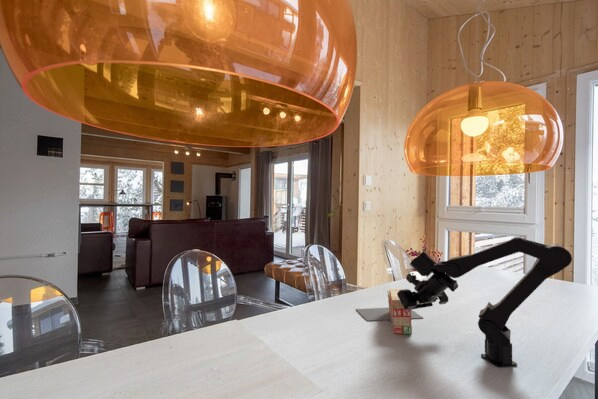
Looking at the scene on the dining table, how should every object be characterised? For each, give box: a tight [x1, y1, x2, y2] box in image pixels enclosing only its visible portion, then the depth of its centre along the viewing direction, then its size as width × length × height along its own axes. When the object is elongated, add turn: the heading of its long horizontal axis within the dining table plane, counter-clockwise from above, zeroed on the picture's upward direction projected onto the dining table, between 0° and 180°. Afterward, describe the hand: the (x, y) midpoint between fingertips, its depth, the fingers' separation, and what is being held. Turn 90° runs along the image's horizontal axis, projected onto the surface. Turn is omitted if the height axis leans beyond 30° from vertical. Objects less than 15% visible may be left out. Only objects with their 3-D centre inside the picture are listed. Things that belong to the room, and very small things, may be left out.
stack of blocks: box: [387, 288, 413, 335], centre depth 113 cm, size 21×6×12 cm, turn 168°
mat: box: [355, 307, 424, 322], centre depth 123 cm, size 13×24×1 cm, turn 99°
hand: (410, 308), depth 108 cm, fingers closed
